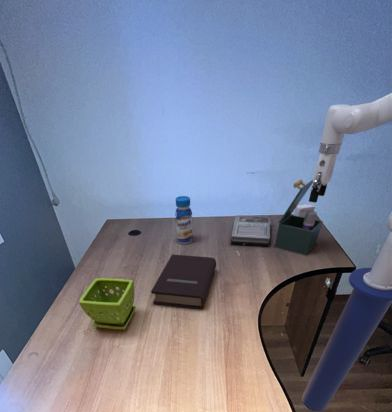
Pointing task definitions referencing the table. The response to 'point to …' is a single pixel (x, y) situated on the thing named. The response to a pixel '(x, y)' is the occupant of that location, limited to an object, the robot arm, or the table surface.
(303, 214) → the ink box
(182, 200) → the beverage bottle
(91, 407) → the table surface
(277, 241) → the chest
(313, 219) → the container
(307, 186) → the lid
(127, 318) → the flower pot
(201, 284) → the book
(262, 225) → the hard drive
